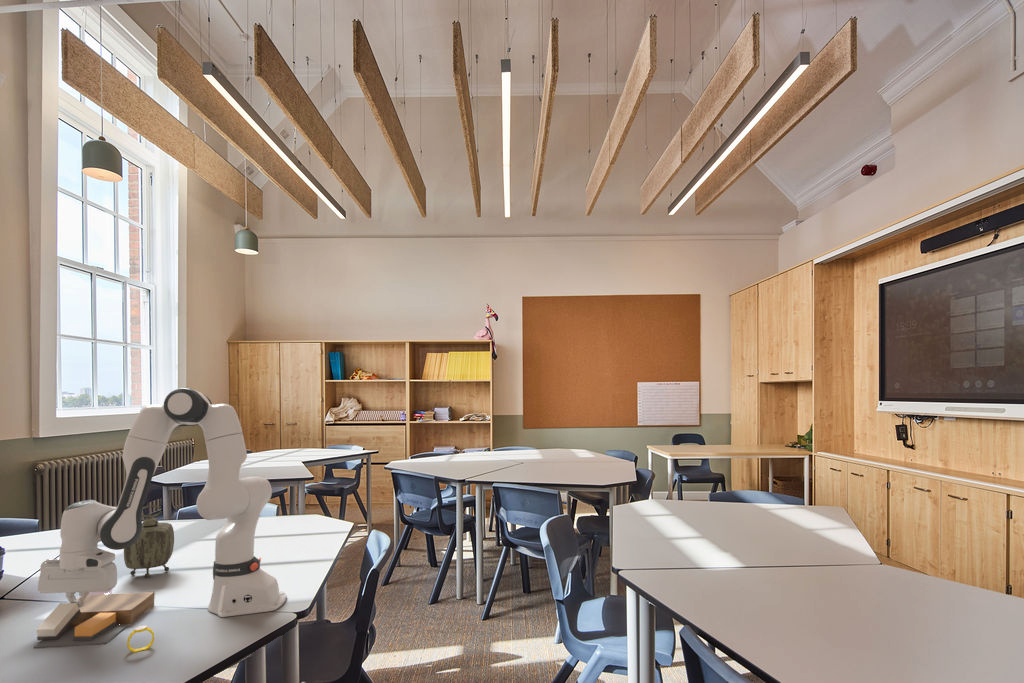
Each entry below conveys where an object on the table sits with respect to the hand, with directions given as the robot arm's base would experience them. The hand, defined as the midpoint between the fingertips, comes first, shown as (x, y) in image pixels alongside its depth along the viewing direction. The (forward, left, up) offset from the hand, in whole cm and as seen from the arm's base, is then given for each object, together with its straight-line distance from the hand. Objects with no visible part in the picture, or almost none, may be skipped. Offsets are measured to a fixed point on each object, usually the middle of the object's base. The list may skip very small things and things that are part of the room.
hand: (77, 607), depth 167 cm
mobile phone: (+10, -30, -6) cm, 32 cm away
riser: (-4, -7, -6) cm, 10 cm away
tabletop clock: (0, -42, -6) cm, 43 cm away
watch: (-26, +18, -6) cm, 32 cm away
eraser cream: (+2, +5, -3) cm, 6 cm away
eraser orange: (-8, +6, -5) cm, 12 cm away
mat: (-6, +7, -6) cm, 11 cm away
